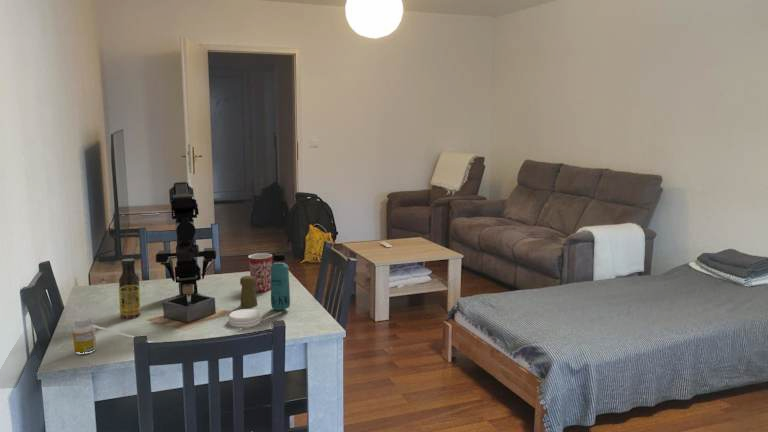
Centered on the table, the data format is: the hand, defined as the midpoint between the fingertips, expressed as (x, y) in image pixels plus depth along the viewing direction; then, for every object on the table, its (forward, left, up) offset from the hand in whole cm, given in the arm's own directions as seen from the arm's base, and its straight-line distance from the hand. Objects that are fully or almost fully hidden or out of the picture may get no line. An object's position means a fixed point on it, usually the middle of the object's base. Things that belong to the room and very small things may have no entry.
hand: (188, 280), depth 191 cm
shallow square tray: (0, -2, -12) cm, 12 cm away
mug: (-3, +35, -12) cm, 38 cm away
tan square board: (+1, -2, -12) cm, 12 cm away
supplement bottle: (-1, -37, -12) cm, 39 cm away
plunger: (+1, -2, -11) cm, 11 cm away
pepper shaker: (+10, +16, -12) cm, 23 cm away
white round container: (+21, +3, -13) cm, 25 cm away
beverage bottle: (+23, +18, -12) cm, 32 cm away
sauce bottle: (-16, -12, -12) cm, 23 cm away
